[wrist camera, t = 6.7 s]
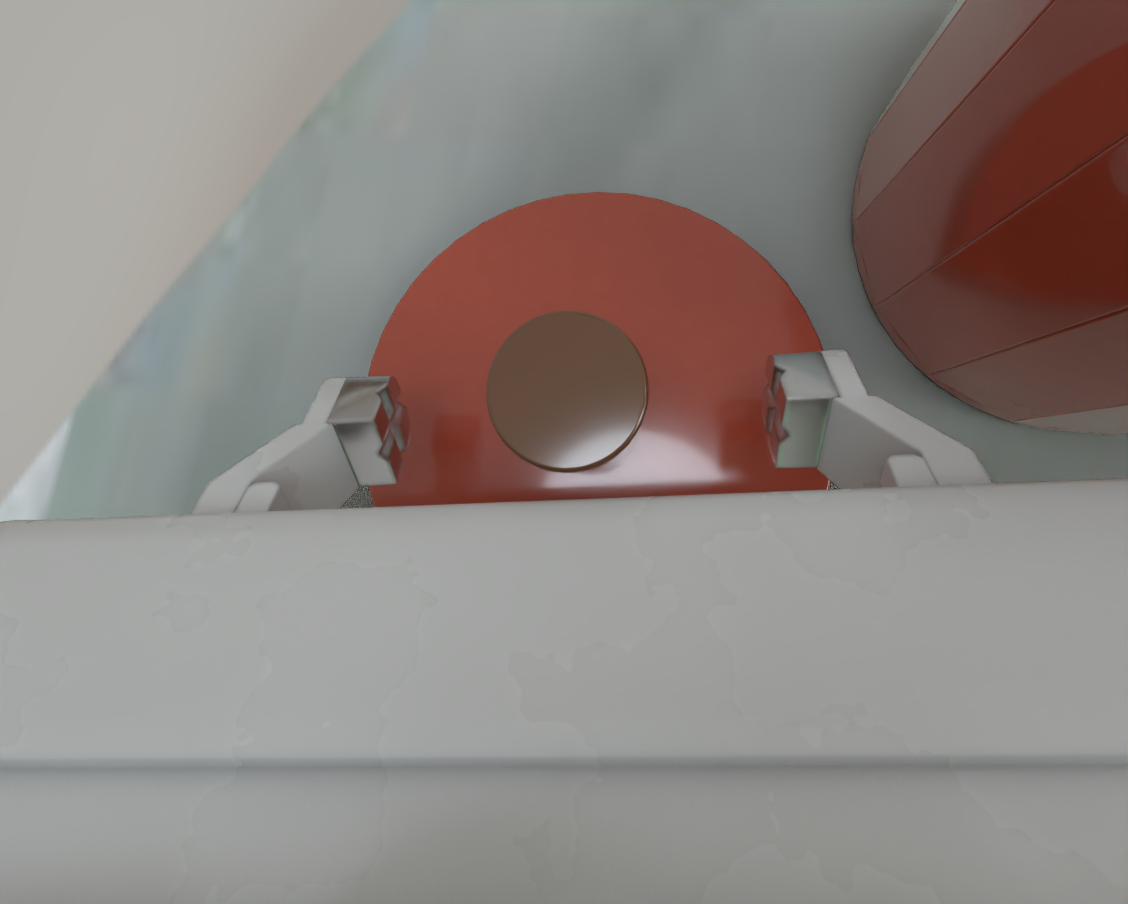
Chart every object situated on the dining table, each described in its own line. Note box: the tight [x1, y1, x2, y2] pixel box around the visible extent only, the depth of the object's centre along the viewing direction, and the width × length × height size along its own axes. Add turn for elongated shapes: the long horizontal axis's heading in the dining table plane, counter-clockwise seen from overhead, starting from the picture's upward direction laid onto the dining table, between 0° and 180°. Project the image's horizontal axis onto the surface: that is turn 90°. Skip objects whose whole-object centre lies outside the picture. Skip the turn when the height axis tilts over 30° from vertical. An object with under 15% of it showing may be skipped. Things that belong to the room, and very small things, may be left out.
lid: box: [368, 192, 830, 507], centre depth 15 cm, size 13×13×9 cm
